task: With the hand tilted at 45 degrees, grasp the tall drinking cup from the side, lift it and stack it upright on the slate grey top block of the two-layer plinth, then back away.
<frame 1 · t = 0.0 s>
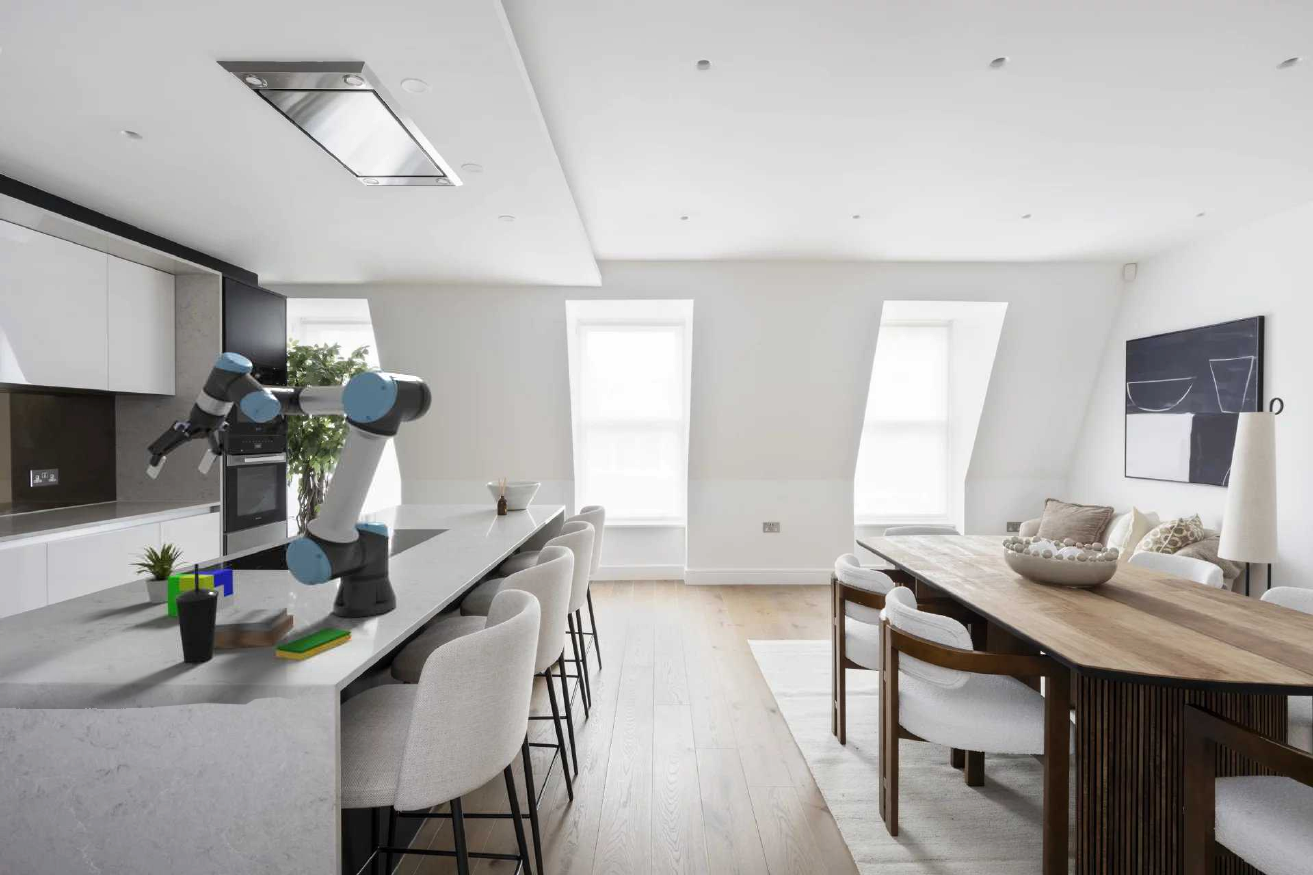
hand: (177, 473, 174), 36 cm above the countertop, tool tilted 35°, fingers open, 13 cm apart
puzzle toy: (201, 611, 173), on the countertop
two-layer plinth: (252, 637, 151), on the countertop
house plant: (161, 600, 183), on the countertop
dish sponge: (315, 650, 144), on the countertop
drinking cup: (198, 660, 137), on the countertop
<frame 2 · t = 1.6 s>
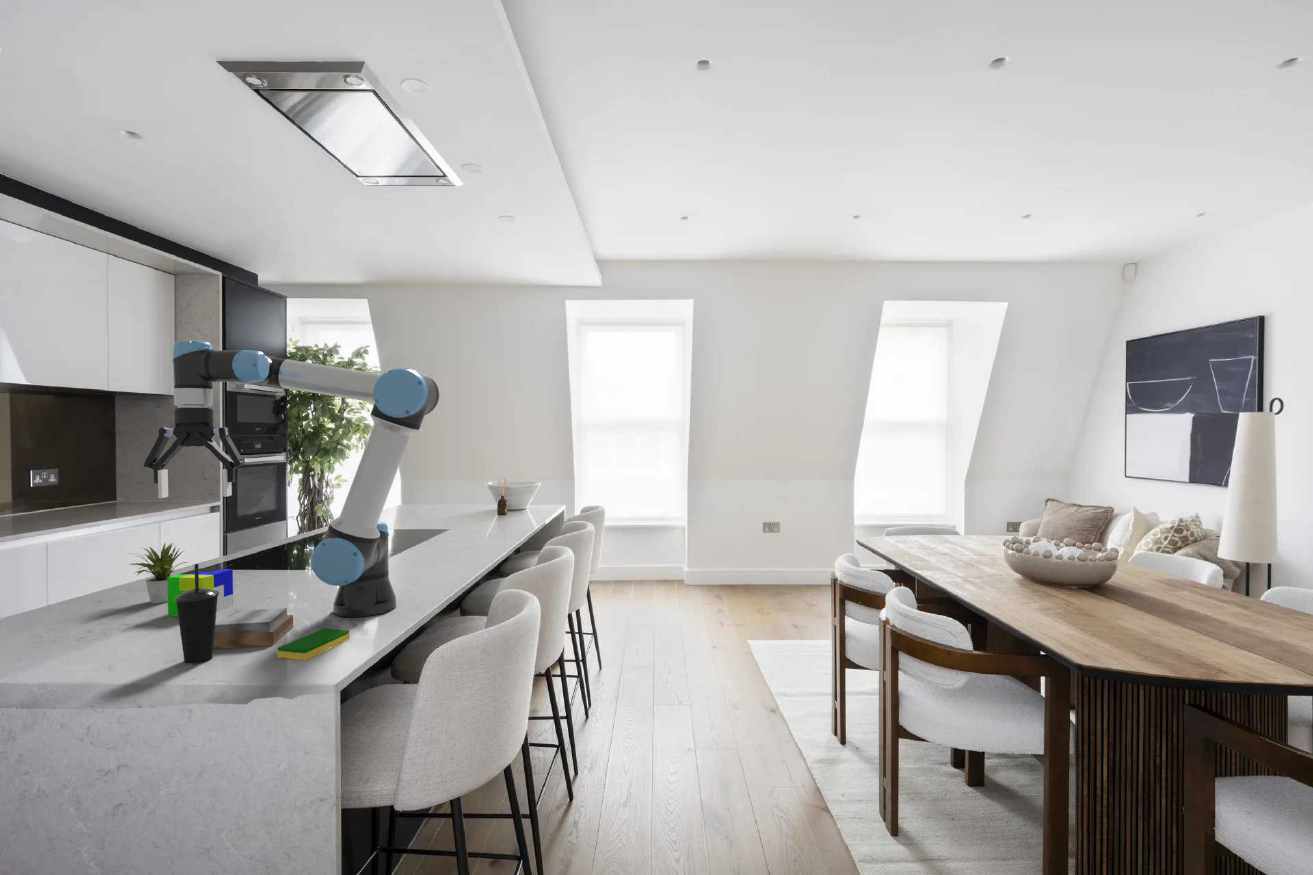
hand: (195, 496, 156), 32 cm above the countertop, tool pointing down, fingers open, 13 cm apart
nothing on the countertop moved.
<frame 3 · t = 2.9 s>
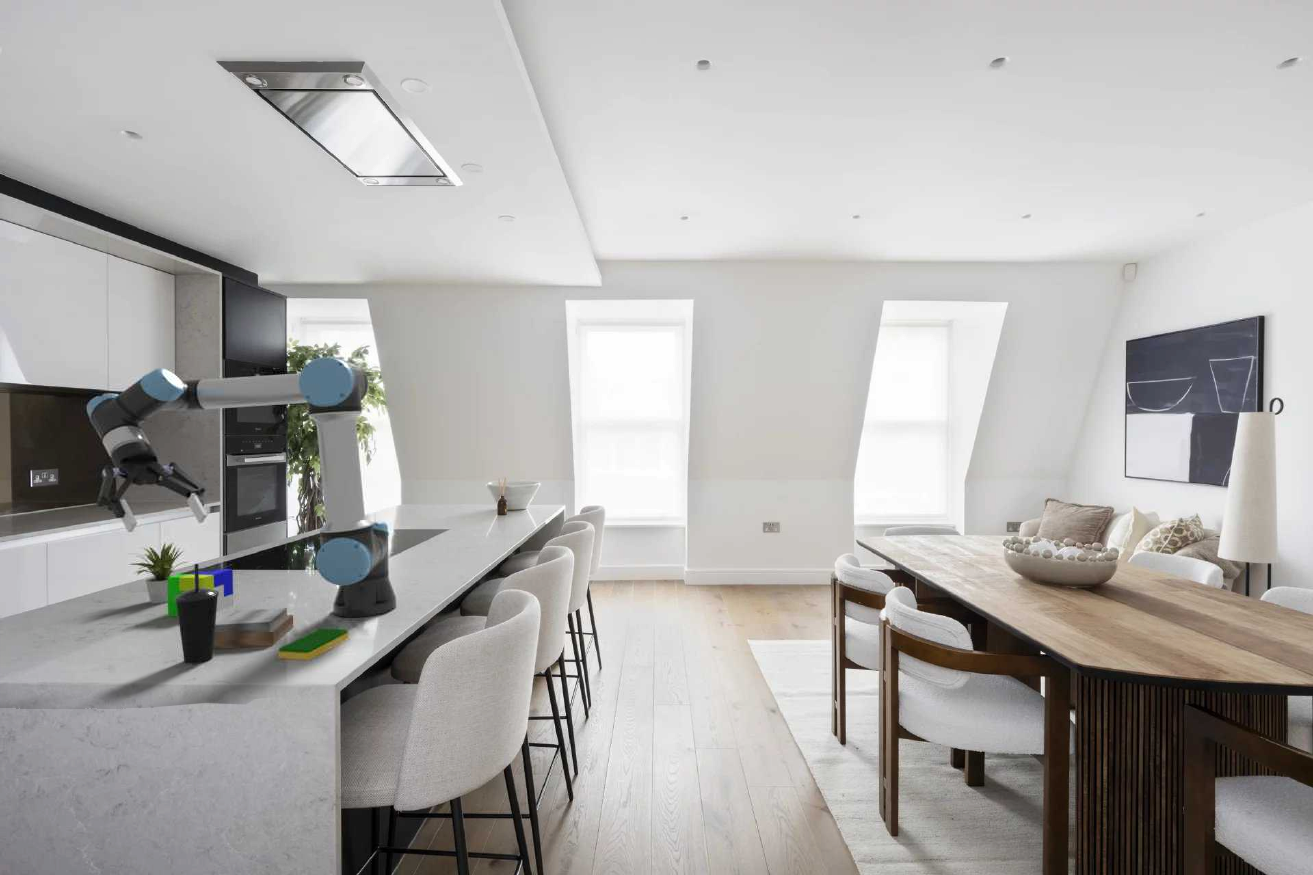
hand: (169, 523, 141), 28 cm above the countertop, tool tilted 45°, fingers open, 13 cm apart
nothing on the countertop moved.
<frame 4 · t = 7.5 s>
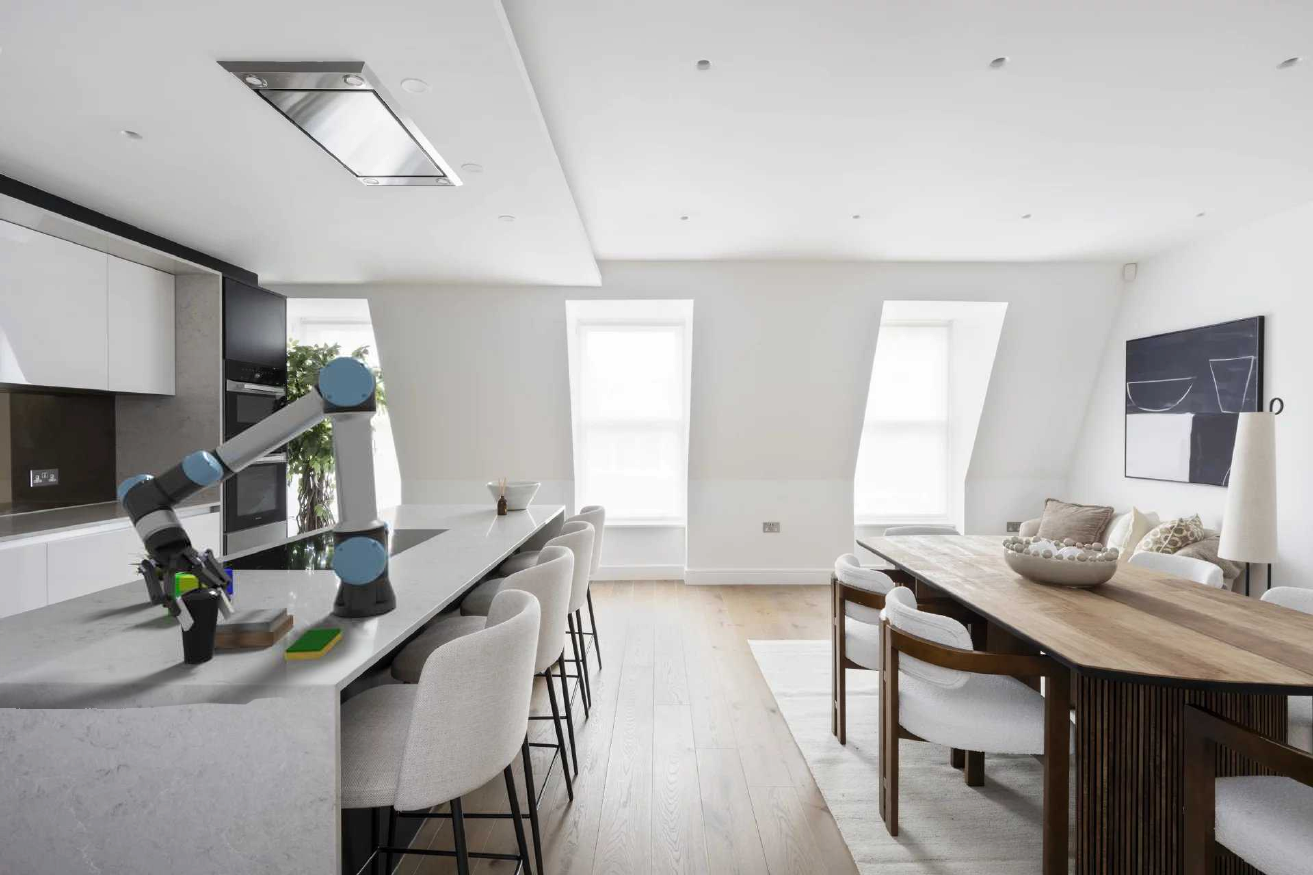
hand: (210, 620, 135), 9 cm above the countertop, tool tilted 45°, fingers closed on drinking cup, 7 cm apart
drinking cup: (198, 660, 137), on the countertop, touching gripper
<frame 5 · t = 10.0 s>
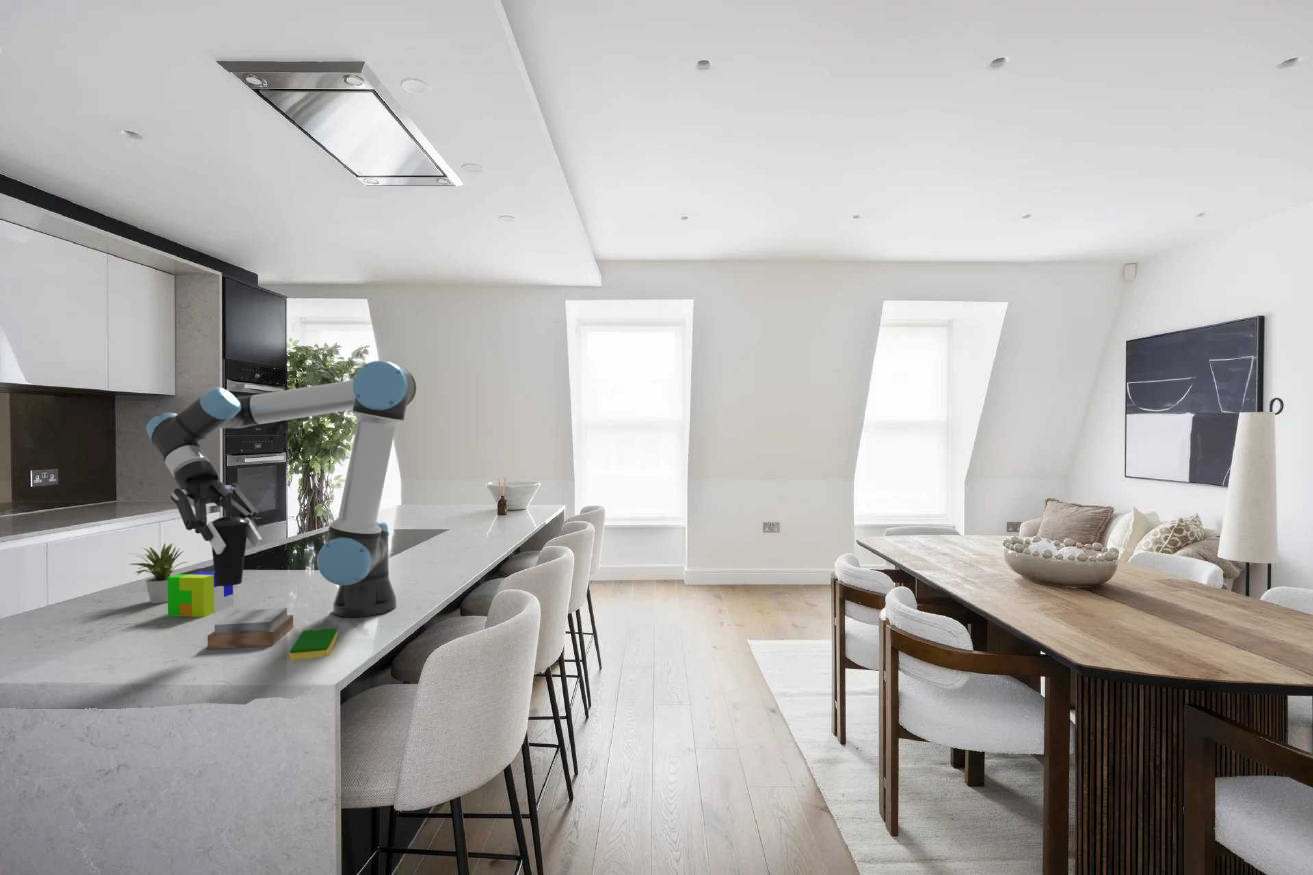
hand: (240, 546, 143), 22 cm above the countertop, tool tilted 45°, fingers closed on drinking cup, 7 cm apart
drinking cup: (228, 584, 145), point 14 cm above the countertop, touching gripper
when the fingers open (15 cm above the countertop, at t = 12.7 s): drinking cup drops 1 cm, resting on two-layer plinth.
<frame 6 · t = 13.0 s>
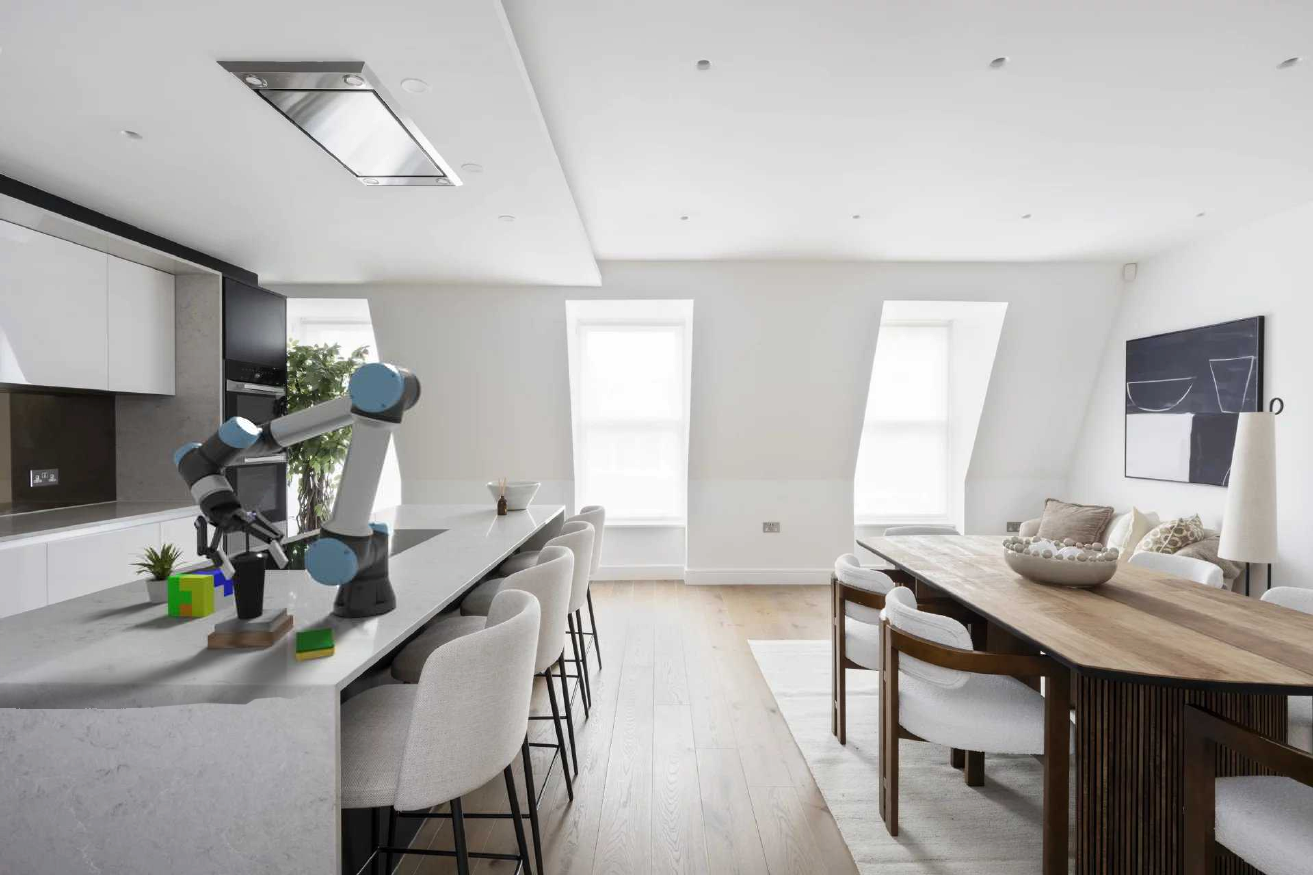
hand: (258, 570, 149), 16 cm above the countertop, tool tilted 45°, fingers open, 11 cm apart
drinking cup: (250, 616, 150), point 5 cm above the countertop, touching two-layer plinth
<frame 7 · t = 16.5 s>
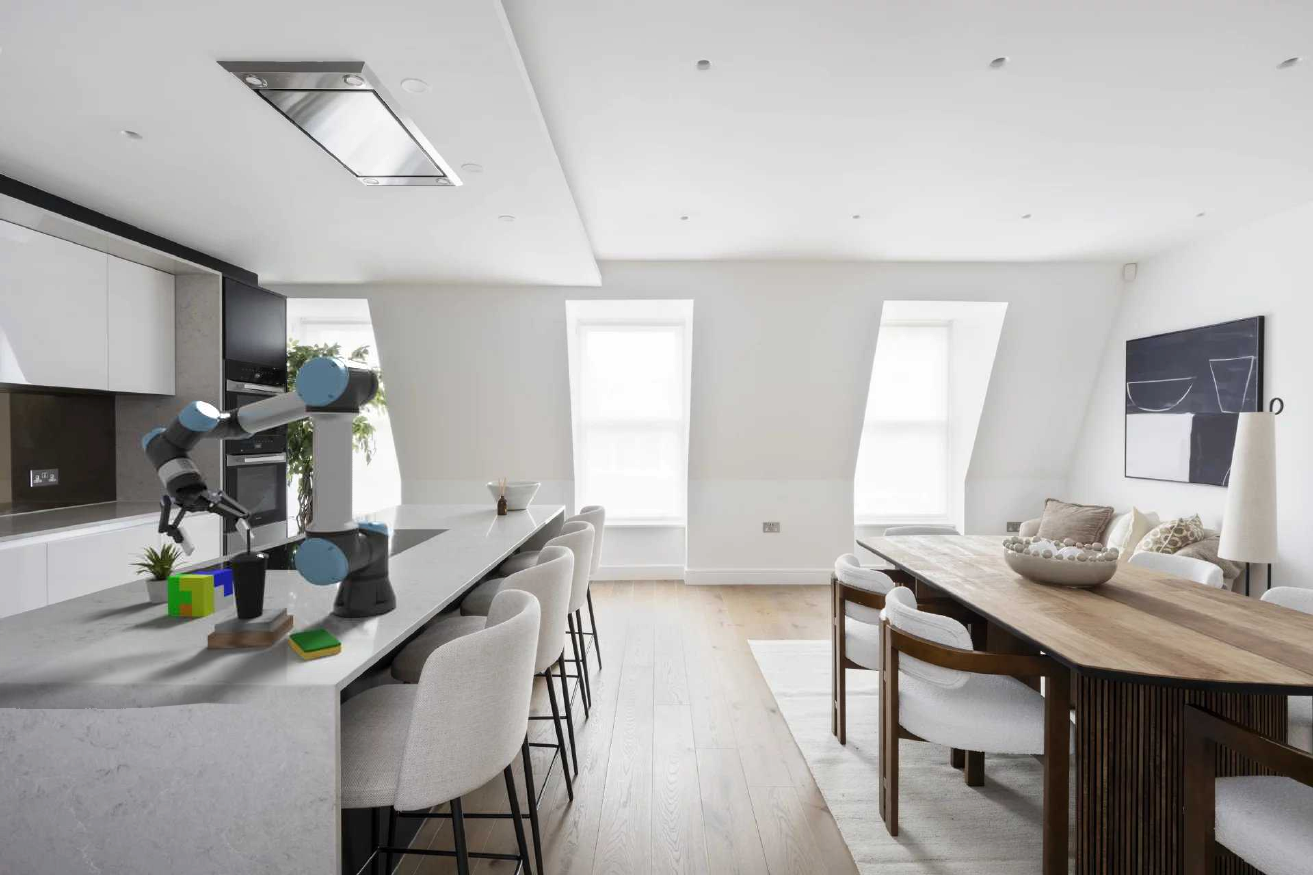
hand: (222, 546, 155), 20 cm above the countertop, tool tilted 45°, fingers open, 13 cm apart
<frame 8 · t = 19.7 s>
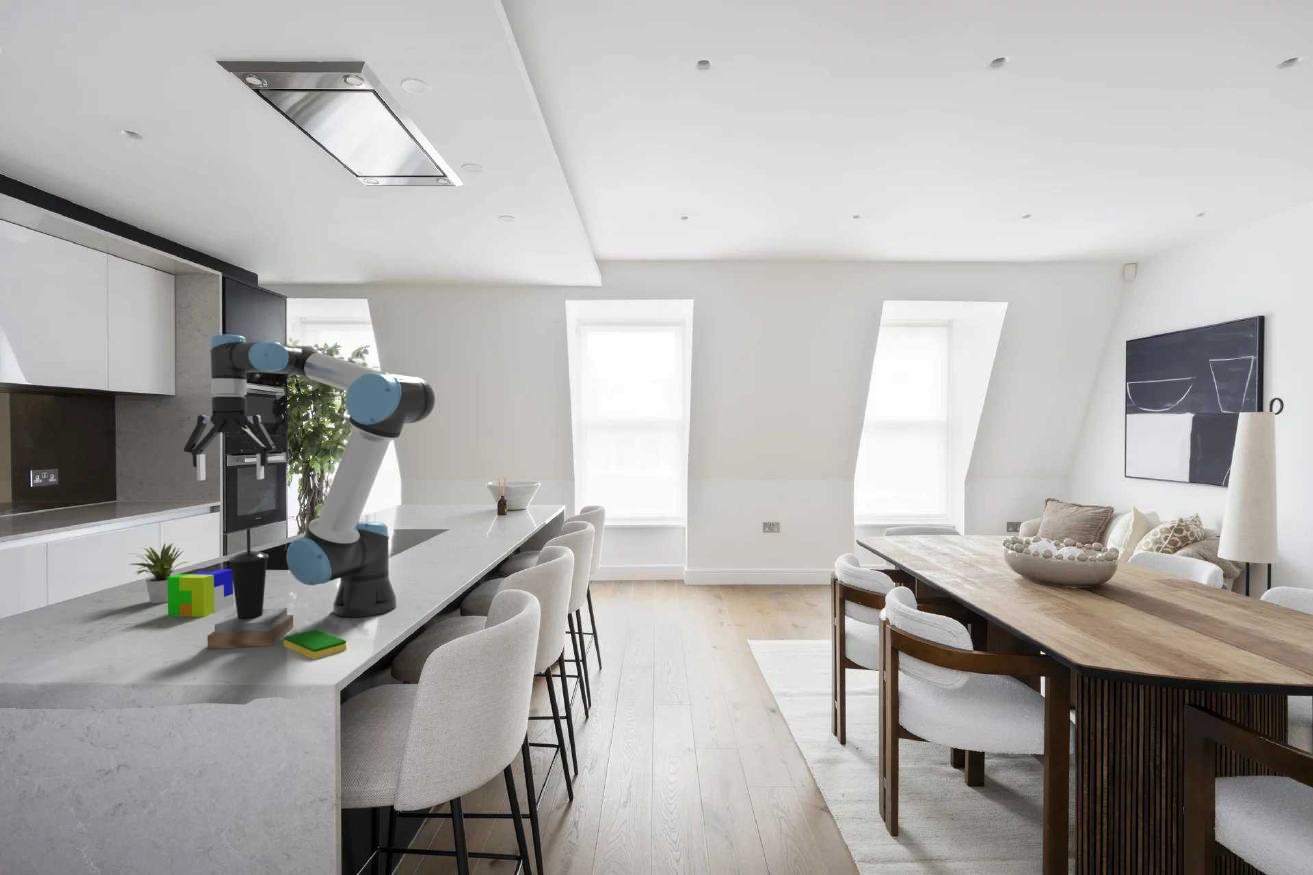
hand: (231, 479, 168), 35 cm above the countertop, tool pointing down, fingers open, 13 cm apart
at the end: drinking cup inside the target area on the two-layer plinth (0.5 cm from its centre), point 4.8 cm above the two-layer plinth's base; drinking cup tilted 0°; the gripper is holding nothing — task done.
